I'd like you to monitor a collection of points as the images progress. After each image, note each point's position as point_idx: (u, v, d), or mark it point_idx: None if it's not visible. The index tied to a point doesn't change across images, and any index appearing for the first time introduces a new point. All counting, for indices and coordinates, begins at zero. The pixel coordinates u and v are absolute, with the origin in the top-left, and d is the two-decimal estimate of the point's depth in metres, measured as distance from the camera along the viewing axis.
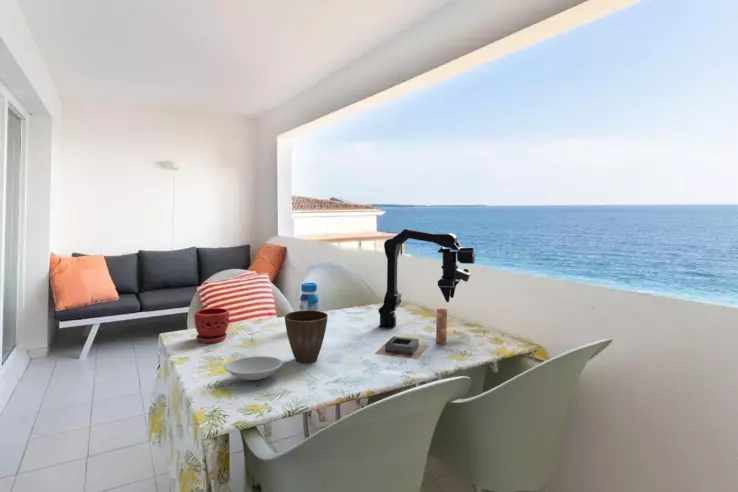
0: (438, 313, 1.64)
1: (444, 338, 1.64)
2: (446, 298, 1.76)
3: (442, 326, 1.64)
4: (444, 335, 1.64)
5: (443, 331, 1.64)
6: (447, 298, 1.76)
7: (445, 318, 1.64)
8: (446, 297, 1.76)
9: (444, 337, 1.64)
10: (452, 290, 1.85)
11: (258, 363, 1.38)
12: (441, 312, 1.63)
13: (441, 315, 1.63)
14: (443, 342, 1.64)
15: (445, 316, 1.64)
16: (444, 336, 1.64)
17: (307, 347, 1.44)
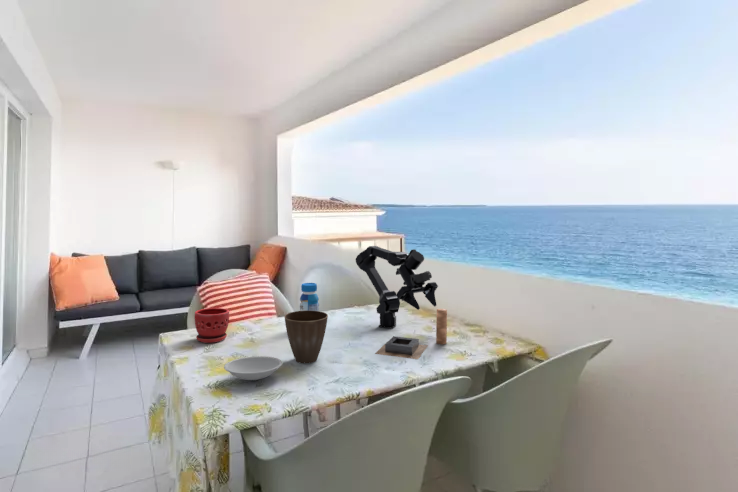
0: (438, 313, 1.64)
1: (444, 338, 1.64)
2: (415, 306, 1.69)
3: (442, 326, 1.64)
4: (444, 335, 1.64)
5: (443, 331, 1.64)
6: (415, 305, 1.69)
7: (445, 318, 1.64)
8: (414, 305, 1.69)
9: (444, 337, 1.64)
10: (432, 299, 1.76)
11: (258, 363, 1.38)
12: (441, 312, 1.63)
13: (441, 315, 1.63)
14: (443, 342, 1.64)
15: (445, 316, 1.64)
16: (444, 336, 1.64)
17: (307, 347, 1.44)
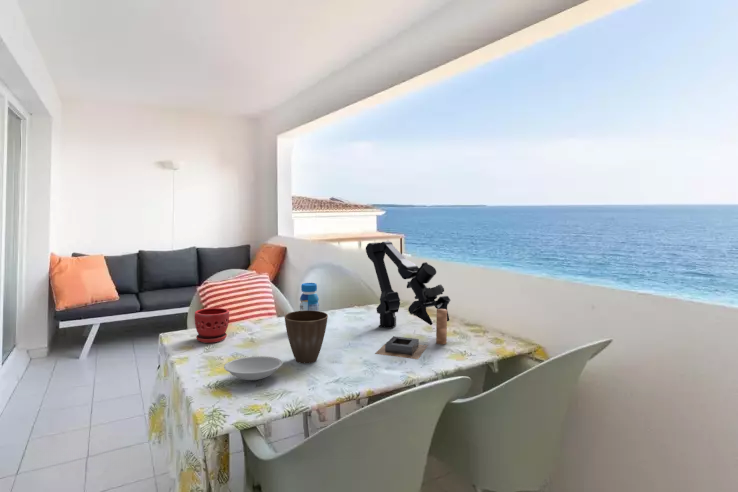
0: (438, 313, 1.64)
1: (444, 338, 1.64)
2: (428, 321, 1.64)
3: (442, 326, 1.64)
4: (444, 335, 1.64)
5: (443, 331, 1.64)
6: (428, 321, 1.64)
7: (445, 318, 1.64)
8: (427, 320, 1.64)
9: (444, 337, 1.64)
10: None
11: (258, 363, 1.38)
12: (441, 312, 1.63)
13: (441, 315, 1.63)
14: (443, 342, 1.64)
15: (445, 316, 1.64)
16: (444, 336, 1.64)
17: (307, 347, 1.44)
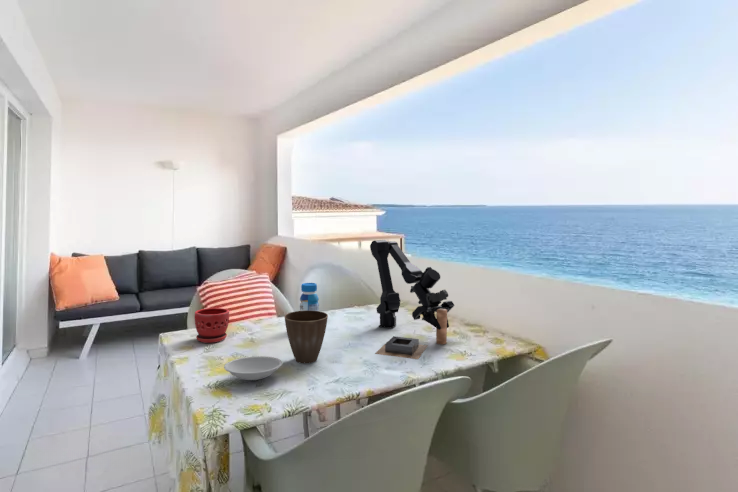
0: (438, 313, 1.64)
1: (444, 338, 1.64)
2: (436, 326, 1.64)
3: (442, 326, 1.64)
4: (444, 335, 1.64)
5: (443, 331, 1.64)
6: (437, 325, 1.64)
7: (445, 318, 1.64)
8: (435, 325, 1.64)
9: (444, 337, 1.64)
10: None
11: (258, 363, 1.38)
12: (441, 312, 1.63)
13: (441, 315, 1.63)
14: (443, 342, 1.64)
15: (445, 316, 1.64)
16: (444, 336, 1.64)
17: (307, 347, 1.44)
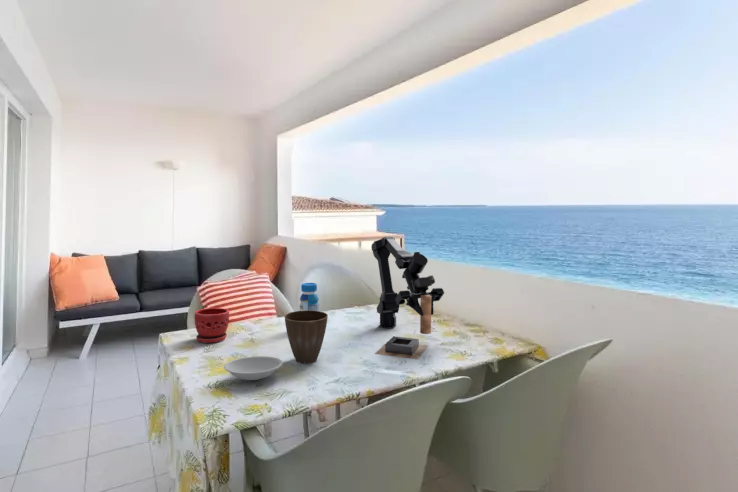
0: (421, 299, 1.59)
1: (427, 325, 1.59)
2: (419, 312, 1.59)
3: (425, 313, 1.58)
4: (427, 322, 1.59)
5: (426, 318, 1.58)
6: (419, 311, 1.59)
7: (428, 304, 1.58)
8: (418, 311, 1.59)
9: (427, 324, 1.59)
10: None
11: (258, 363, 1.38)
12: (424, 298, 1.58)
13: (424, 301, 1.58)
14: (426, 329, 1.59)
15: (428, 302, 1.58)
16: (427, 323, 1.59)
17: (307, 347, 1.44)
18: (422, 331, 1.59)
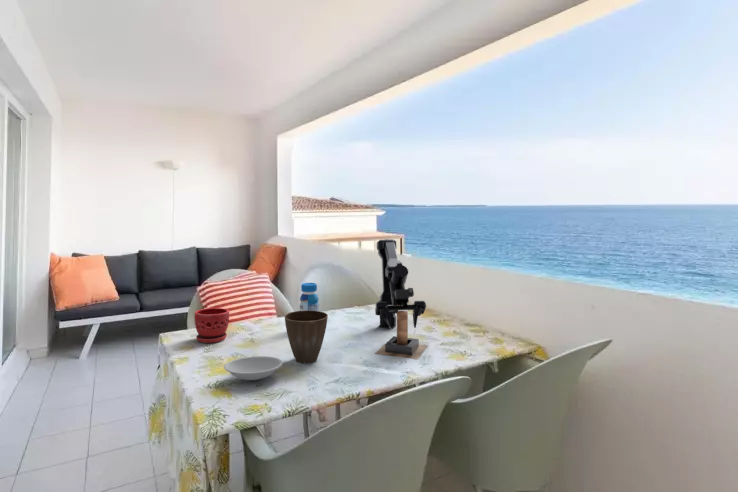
0: (397, 315, 1.57)
1: (402, 342, 1.56)
2: (388, 324, 1.57)
3: (400, 329, 1.56)
4: (402, 338, 1.56)
5: (401, 334, 1.56)
6: (388, 324, 1.57)
7: (403, 321, 1.56)
8: (388, 323, 1.57)
9: (402, 341, 1.56)
10: (414, 319, 1.59)
11: (258, 363, 1.38)
12: (398, 314, 1.56)
13: (398, 317, 1.56)
14: None
15: (403, 319, 1.56)
16: (402, 340, 1.56)
17: (307, 347, 1.44)
18: None
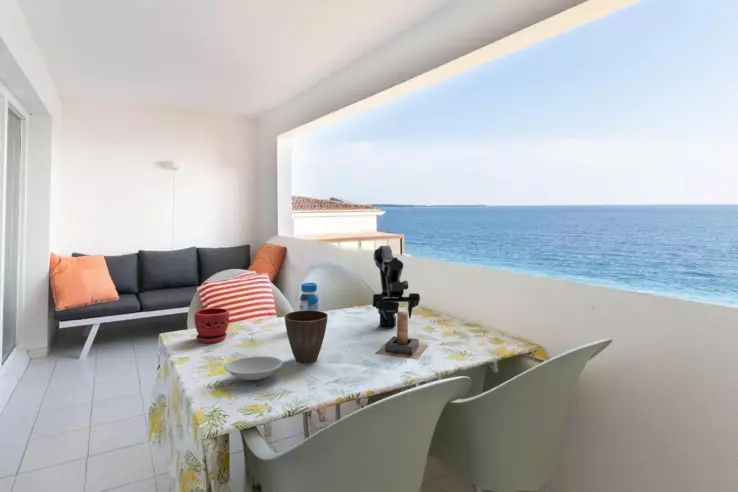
0: (397, 315, 1.57)
1: (402, 342, 1.56)
2: (384, 315, 1.66)
3: (400, 329, 1.56)
4: (402, 339, 1.56)
5: (401, 334, 1.56)
6: (384, 315, 1.66)
7: (403, 321, 1.55)
8: (383, 314, 1.66)
9: (402, 341, 1.56)
10: (409, 310, 1.68)
11: (258, 363, 1.38)
12: (399, 314, 1.56)
13: (398, 317, 1.56)
14: None
15: (403, 319, 1.55)
16: (402, 340, 1.56)
17: (307, 347, 1.44)
18: None
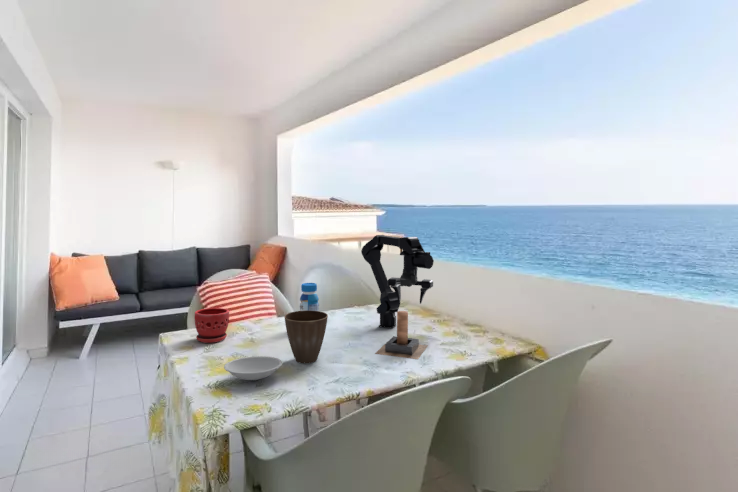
0: (397, 315, 1.57)
1: (402, 342, 1.56)
2: None
3: (400, 329, 1.56)
4: (402, 339, 1.56)
5: (401, 334, 1.56)
6: None
7: (403, 321, 1.55)
8: None
9: (402, 341, 1.56)
10: None
11: (258, 363, 1.38)
12: (399, 314, 1.56)
13: (399, 317, 1.56)
14: None
15: (403, 319, 1.55)
16: (402, 340, 1.56)
17: (307, 347, 1.44)
18: None
